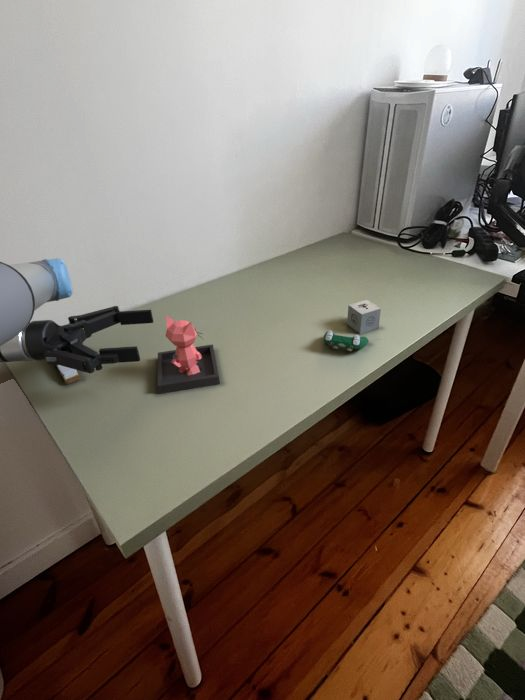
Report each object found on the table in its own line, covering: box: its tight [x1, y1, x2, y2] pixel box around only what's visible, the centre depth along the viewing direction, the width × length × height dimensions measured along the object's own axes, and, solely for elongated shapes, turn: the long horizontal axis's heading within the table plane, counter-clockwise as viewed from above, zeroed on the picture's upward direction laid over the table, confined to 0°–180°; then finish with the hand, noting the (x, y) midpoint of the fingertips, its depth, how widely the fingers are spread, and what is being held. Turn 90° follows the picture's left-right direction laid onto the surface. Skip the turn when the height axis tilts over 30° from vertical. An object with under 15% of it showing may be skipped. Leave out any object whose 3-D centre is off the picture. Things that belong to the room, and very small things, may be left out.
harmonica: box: [54, 365, 81, 385], centre depth 91 cm, size 15×3×2 cm, turn 36°
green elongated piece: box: [323, 330, 369, 352], centre depth 91 cm, size 9×4×6 cm
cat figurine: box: [164, 314, 204, 375], centre depth 84 cm, size 7×7×12 cm
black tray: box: [156, 344, 221, 394], centre depth 87 cm, size 12×12×2 cm
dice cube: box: [346, 299, 382, 335], centre depth 97 cm, size 5×5×5 cm
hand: (145, 333), depth 82 cm, fingers open, 13 cm apart
